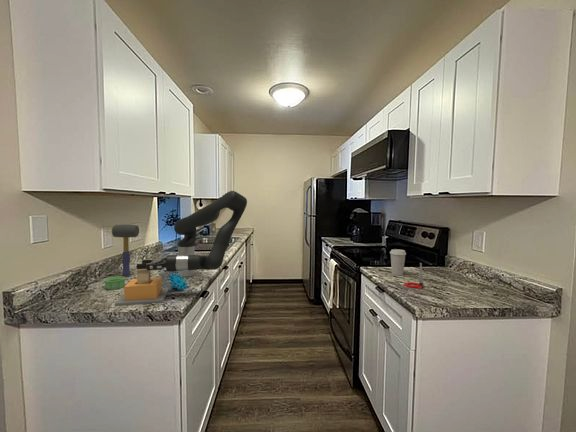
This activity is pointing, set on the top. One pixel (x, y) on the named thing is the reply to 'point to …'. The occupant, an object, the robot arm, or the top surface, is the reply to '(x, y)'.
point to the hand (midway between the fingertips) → (139, 264)
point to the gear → (177, 282)
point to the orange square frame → (143, 293)
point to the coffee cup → (397, 261)
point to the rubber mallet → (125, 243)
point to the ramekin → (114, 282)
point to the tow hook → (416, 283)
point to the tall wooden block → (143, 276)
